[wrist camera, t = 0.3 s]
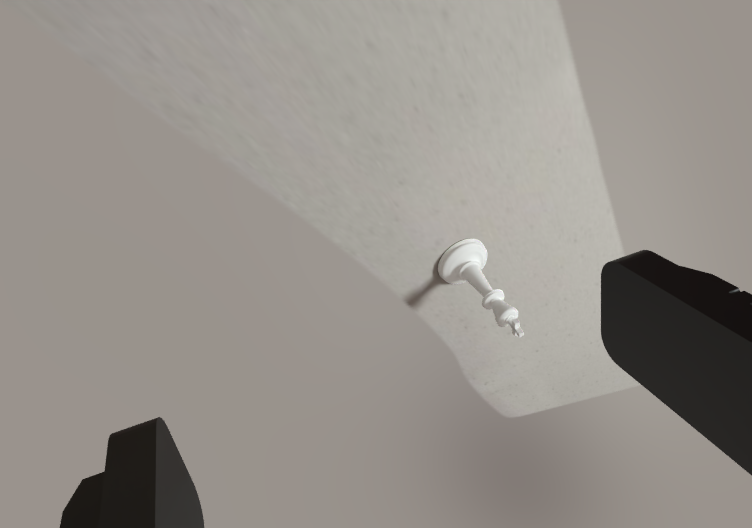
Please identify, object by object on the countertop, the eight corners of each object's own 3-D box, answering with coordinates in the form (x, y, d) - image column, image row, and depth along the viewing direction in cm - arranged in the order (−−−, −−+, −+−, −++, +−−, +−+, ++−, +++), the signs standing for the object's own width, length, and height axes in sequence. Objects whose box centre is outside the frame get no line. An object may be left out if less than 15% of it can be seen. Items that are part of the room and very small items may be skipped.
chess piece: (440, 287, 56) (495, 364, 49) (435, 251, 53) (494, 328, 46) (485, 267, 57) (546, 339, 50) (483, 230, 53) (548, 302, 47)
